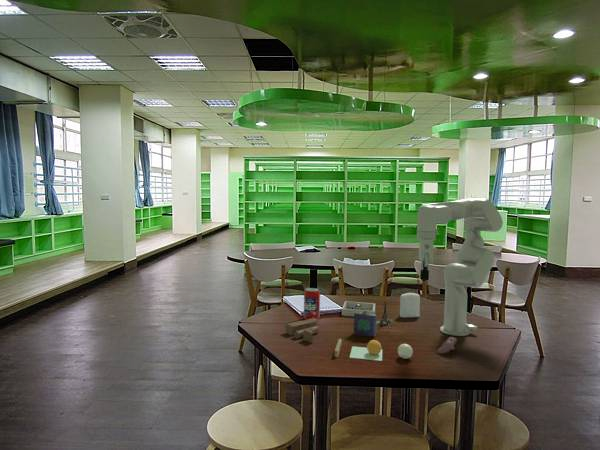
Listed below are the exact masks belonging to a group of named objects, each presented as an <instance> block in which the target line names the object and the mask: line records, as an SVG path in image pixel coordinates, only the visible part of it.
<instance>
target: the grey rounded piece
mask: <svg viewBox="0 0 600 450" xmlns="http://www.w3.org/2000/svg"><path fill="white" fill-rule="evenodd" d="M355 307H356V310H362V309H361V307H362V305H361V304H356V306H355Z"/></svg>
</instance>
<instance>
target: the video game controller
mask: <svg viewBox="0 0 600 450" xmlns="http://www.w3.org/2000/svg"><path fill="white" fill-rule="evenodd" d="M457 341H458V339H457V338H456V336H455V337H454V336H450V337H447V339H446V340H444V341H443V342H442V345H441V346H439V348H438V349H437V352H438V354H441V355H442V354H446V353H448V354H449V352H450V351H453V350H454V349H455V346H454V345H456V343H457Z"/></svg>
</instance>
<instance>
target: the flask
mask: <svg viewBox="0 0 600 450" xmlns="http://www.w3.org/2000/svg"><path fill="white" fill-rule="evenodd" d="M363 310H364V312H361V313H360V311H359V312H355V314H354V317H353V318H354V320H353V335H355V336H361V337H368V338H375V337H376V336H377V328H376V327H377V324H376V321H377V318H378V317H377V314H376V313H375V314H367V311H368V310H365V309H363Z"/></svg>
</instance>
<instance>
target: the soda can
mask: <svg viewBox="0 0 600 450" xmlns="http://www.w3.org/2000/svg"><path fill="white" fill-rule="evenodd" d="M320 305H321V292H320V290H319V288H314V287H308V288H305V291H304V292H303V318H304V320H307V319H312V318H315V319H317V320H319V319H320V315H321V314H320V310H321V309H320V308H321V306H320Z"/></svg>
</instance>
